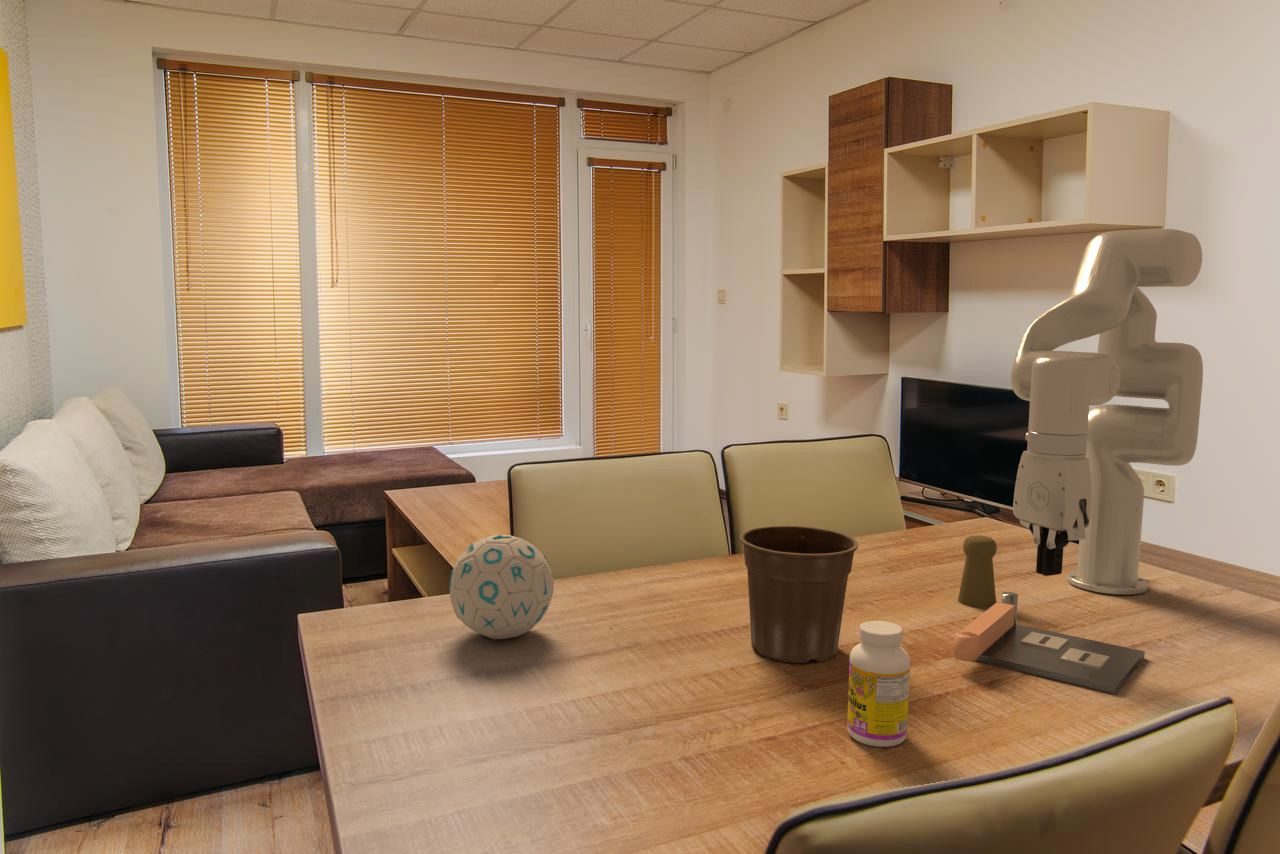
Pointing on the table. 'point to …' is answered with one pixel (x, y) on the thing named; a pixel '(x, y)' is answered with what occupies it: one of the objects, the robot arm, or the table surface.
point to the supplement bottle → (878, 686)
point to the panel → (1062, 656)
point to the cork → (978, 572)
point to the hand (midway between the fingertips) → (1048, 573)
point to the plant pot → (797, 590)
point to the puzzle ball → (501, 586)
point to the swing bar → (983, 631)
